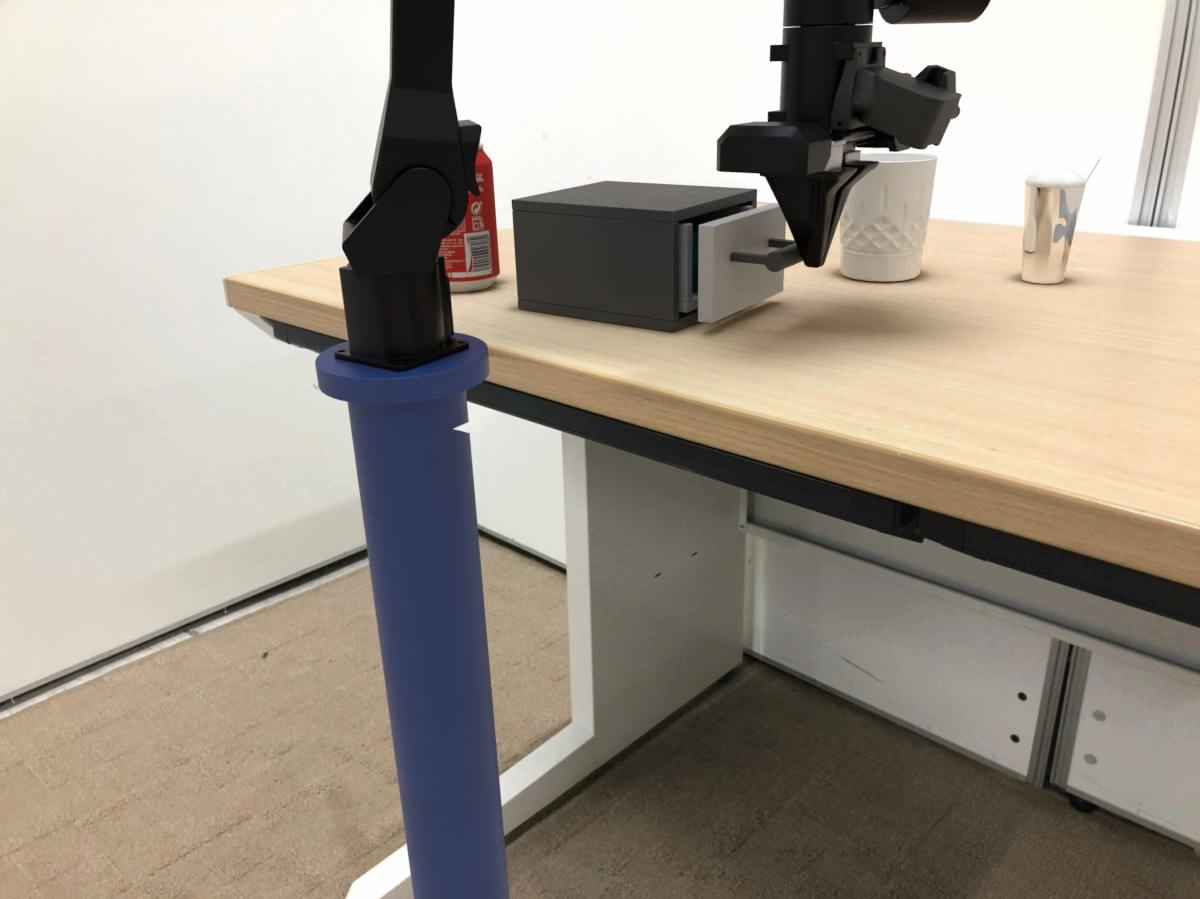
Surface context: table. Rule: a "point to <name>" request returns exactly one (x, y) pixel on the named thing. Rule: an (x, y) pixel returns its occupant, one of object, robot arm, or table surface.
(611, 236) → the cabinet
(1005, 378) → the table surface
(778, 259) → the drawer
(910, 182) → the white cup
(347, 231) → the robot arm
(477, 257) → the beverage can
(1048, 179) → the milkshake
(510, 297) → the table surface
